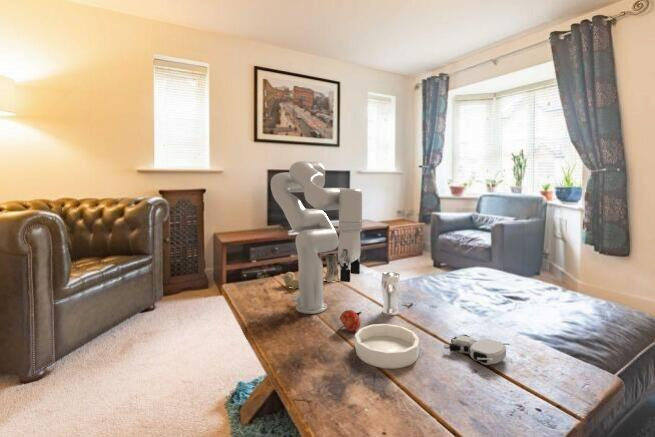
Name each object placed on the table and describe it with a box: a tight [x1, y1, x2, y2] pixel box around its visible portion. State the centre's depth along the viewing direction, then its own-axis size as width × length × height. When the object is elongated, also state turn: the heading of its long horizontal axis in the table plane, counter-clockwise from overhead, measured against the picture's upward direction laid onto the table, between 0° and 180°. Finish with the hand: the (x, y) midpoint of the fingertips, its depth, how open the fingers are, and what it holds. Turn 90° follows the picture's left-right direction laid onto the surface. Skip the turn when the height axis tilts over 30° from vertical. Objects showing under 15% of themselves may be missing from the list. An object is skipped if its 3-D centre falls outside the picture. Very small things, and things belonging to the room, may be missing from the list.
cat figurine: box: [279, 271, 299, 290], centre depth 158 cm, size 8×7×12 cm
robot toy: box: [443, 334, 511, 366], centre depth 94 cm, size 12×4×15 cm
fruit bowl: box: [354, 323, 420, 370], centre depth 97 cm, size 18×18×4 cm
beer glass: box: [381, 271, 401, 316], centre depth 126 cm, size 7×7×15 cm
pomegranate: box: [337, 309, 363, 333], centre depth 111 cm, size 7×7×10 cm
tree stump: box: [323, 253, 340, 283], centre depth 169 cm, size 10×10×13 cm
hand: (350, 277), depth 109 cm, fingers open, 9 cm apart
